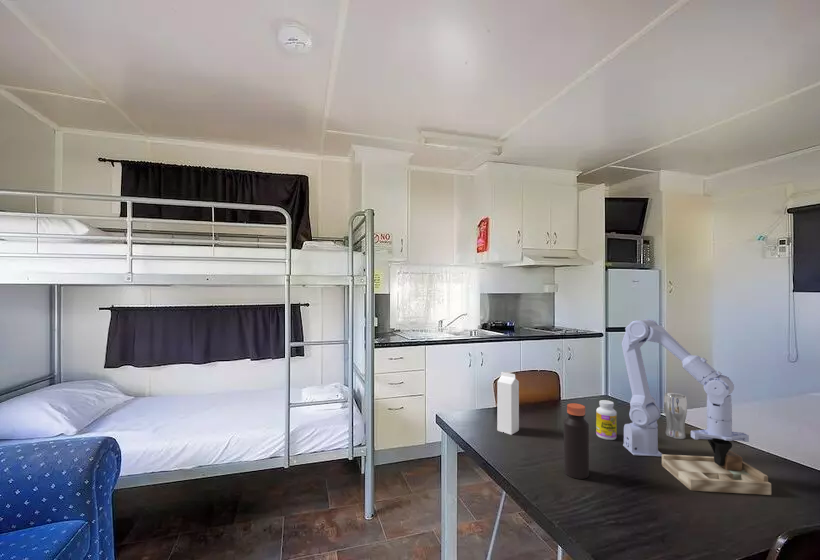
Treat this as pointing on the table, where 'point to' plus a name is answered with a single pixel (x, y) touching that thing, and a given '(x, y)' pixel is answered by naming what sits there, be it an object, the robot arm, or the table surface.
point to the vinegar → (576, 442)
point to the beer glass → (675, 414)
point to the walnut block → (733, 461)
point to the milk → (507, 403)
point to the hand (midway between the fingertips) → (719, 464)
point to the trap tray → (715, 475)
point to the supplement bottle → (606, 420)
